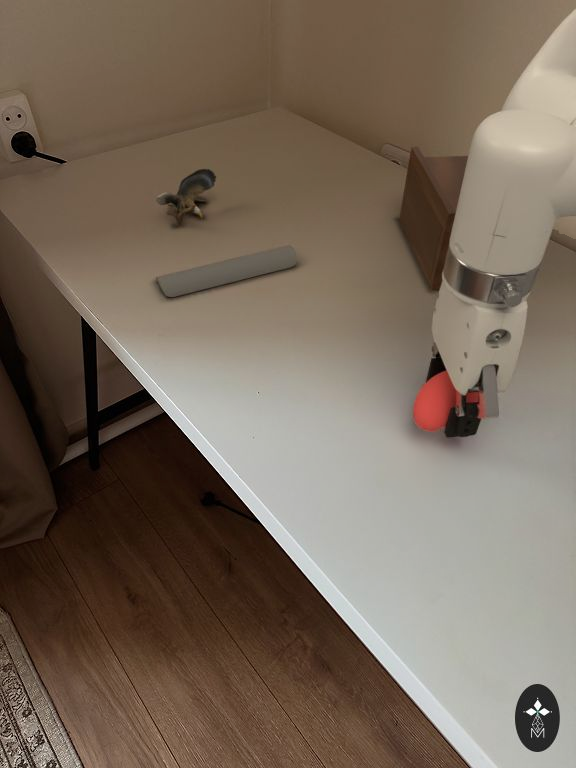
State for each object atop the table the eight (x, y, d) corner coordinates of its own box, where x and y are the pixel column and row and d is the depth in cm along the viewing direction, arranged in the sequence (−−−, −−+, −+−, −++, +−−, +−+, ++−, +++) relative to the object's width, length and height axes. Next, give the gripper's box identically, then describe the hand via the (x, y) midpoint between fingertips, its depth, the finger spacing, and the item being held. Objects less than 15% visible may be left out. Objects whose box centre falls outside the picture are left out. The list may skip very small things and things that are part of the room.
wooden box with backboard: (473, 216, 99) (492, 144, 91) (516, 285, 87) (542, 209, 79) (398, 219, 98) (411, 146, 90) (431, 290, 86) (449, 213, 77)
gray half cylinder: (299, 266, 89) (299, 255, 87) (164, 300, 83) (162, 289, 81) (286, 250, 91) (286, 239, 90) (154, 282, 85) (152, 271, 84)
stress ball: (399, 404, 69) (397, 388, 64) (472, 364, 69) (477, 345, 63) (423, 445, 68) (424, 433, 62) (498, 404, 67) (506, 388, 61)
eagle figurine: (212, 226, 93) (228, 186, 98) (180, 189, 89) (199, 150, 94) (175, 241, 97) (192, 202, 102) (143, 207, 93) (162, 168, 98)
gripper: (576, 331, 48) (513, 472, 61) (497, 210, 60) (458, 350, 73) (480, 338, 47) (437, 480, 60) (419, 215, 59) (394, 355, 72)
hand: (449, 407), depth 66 cm, fingers closed on stress ball, 6 cm apart
